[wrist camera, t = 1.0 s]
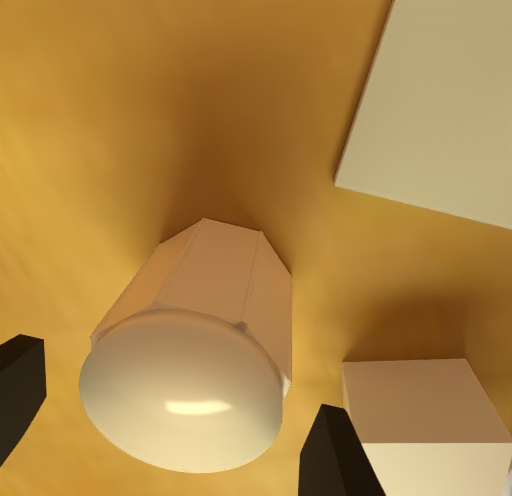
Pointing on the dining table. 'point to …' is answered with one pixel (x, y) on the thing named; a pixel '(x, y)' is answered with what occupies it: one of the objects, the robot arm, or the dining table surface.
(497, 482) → the cream block
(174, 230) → the dining table surface
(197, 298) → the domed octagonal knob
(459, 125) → the sage mat
